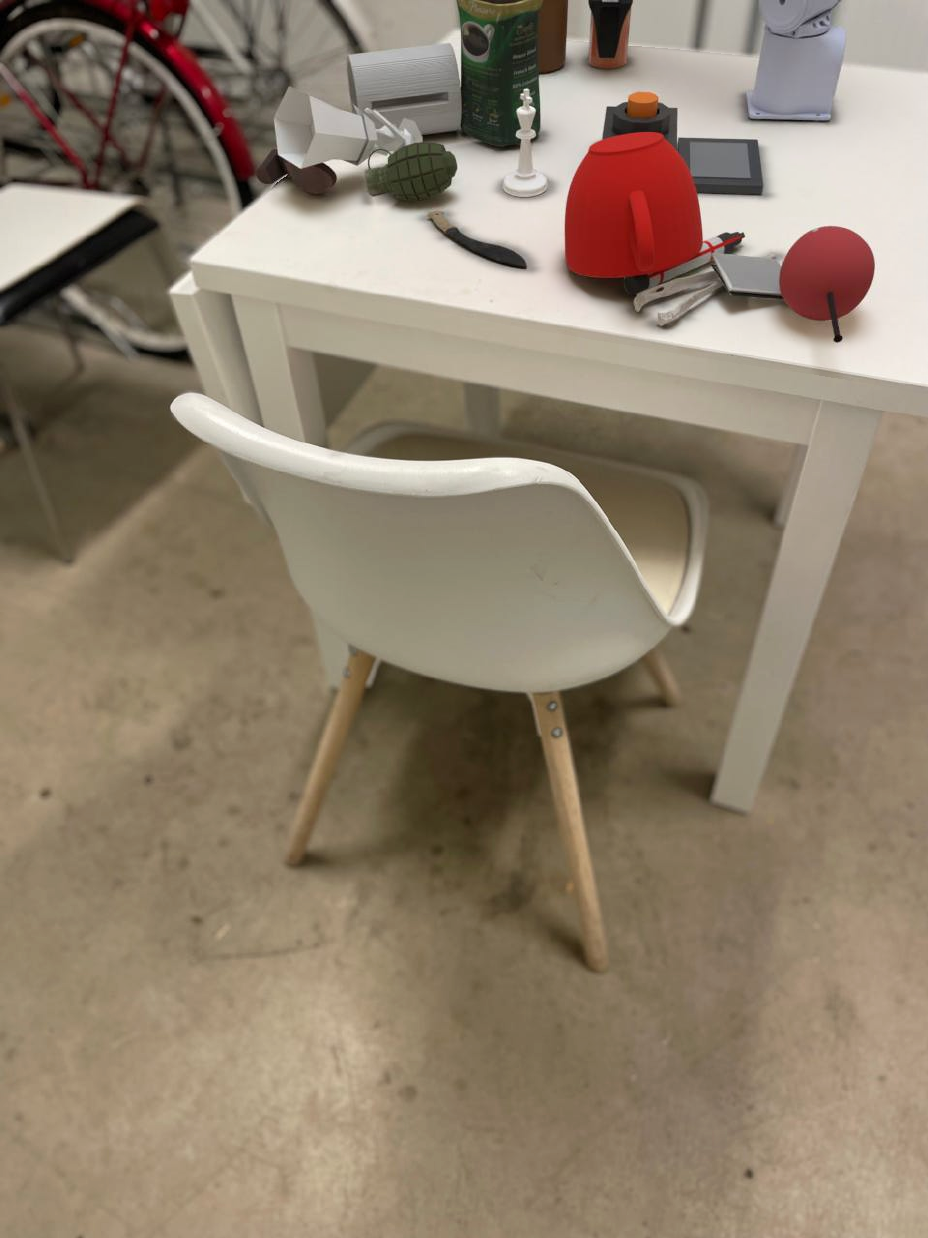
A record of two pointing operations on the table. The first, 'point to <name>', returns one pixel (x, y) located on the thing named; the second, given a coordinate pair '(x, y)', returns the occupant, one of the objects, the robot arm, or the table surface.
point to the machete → (478, 243)
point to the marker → (713, 245)
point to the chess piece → (525, 157)
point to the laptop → (748, 275)
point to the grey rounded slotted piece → (408, 86)
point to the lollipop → (827, 274)
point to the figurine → (334, 132)
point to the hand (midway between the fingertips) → (608, 46)
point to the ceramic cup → (631, 209)
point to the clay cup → (621, 50)
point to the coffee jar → (498, 67)
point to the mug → (552, 35)
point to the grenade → (413, 172)
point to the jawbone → (678, 286)
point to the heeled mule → (296, 173)
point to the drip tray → (723, 164)
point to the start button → (642, 105)
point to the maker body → (641, 122)
